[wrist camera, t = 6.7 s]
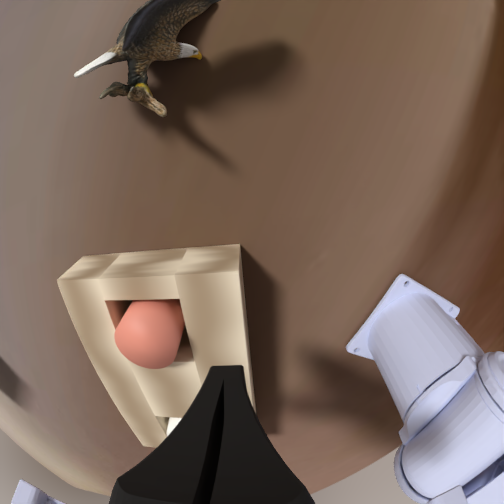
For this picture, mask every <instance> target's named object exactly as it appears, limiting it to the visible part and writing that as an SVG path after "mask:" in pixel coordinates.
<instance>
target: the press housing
mask: <svg viewBox="0 0 504 504" xmlns="http://www.w3.org/2000/svg"><path fill="white" fill-rule="evenodd" d="M57 283H58V286H59V288H60V291H61V294H62V297H63V299H64V302H65V304H66V307H67V309H68V312H69V314H70V317H71V319H72V322H73V324H74V326H75V328H76V331H77V333H78V335H79V337H80V340H81V342H82V344H83V346H84V348H85V350H86V352H87V354H88V356H89V358H90V360H91V362H92V364H93V366H94V368H95V370H96V372H97V374H98V375H99V377H100V379H101V381H102V383H103V384H104V386H105V388H106V390H107V391H108V393H109V395H110V396H111V398H112V400H113V401H114V403H115V405H116V406H117V408H118V409H119V411H120V413H121V414H122V416H123V417H124V419H125V420H126V422H127V423H128V425H129V426H130V428H131V429H132V431H133V432H134V433H135V435H136V436H137V438H138V439H139V440H140V442H141V443H142V445H143V446H148V447H156V448H157V447H158V446H159V445H160V444H161V443H162V442H163V441H164V440H165V438H166V437H167V434H166V432H167V427H168V423H169V418H170V417H173V418H182V417H183V416H184V414H185V413H186V412H187V410H188V409H189V407H190V406H191V404H192V402H193V401H194V399H195V397H196V395H197V394H198V392H199V390H200V388H201V386H202V384H203V382H204V380H205V378H206V376H207V374H208V372H209V369H210V367H211V366H223V365H242V366H243V367H244V373H245V380H246V387H247V392H248V395H249V398H250V401H251V403H252V406H253V409H254V411H255V413H256V404H255V395H254V385H253V375H252V365H251V356H250V345H249V335H248V325H247V315H246V304H245V293H244V283H243V272H242V261H241V249H240V244H234V245H220V246H206V247H192V248H179V249H166V250H153V251H140V252H127V253H115V254H102V255H90V256H83V257H82V258H81V259H80V260H79V261H77V262H76V263H75V264H74V265H73V266H72V267H71V268H70V269H69V270H67V271H66V272H65V273H64V274H63V275H62V276H61V277H60V278H59V279H58V280H57ZM154 299H180V303H181V308H182V312H183V317H184V321H185V325H186V327H184V330H183V333H182V337H181V340H180V344H179V347H178V351H177V355H176V358H175V360H174V361H173V363H172V364H170V365H169V366H167V367H165V368H161V369H148V368H144V367H141V366H138V365H136V364H134V363H133V362H131V361H129V360H128V359H127V358H126V357H125V356H124V355H123V354H122V353H121V352H120V351H119V349H118V347H117V345H116V343H115V339H114V334H115V330H116V328H117V326H118V324H119V323H120V321H121V319H122V318H123V316H124V314H125V313H126V311H127V309H128V308H129V306H130V304H131V303H132V301H133V300H154ZM256 415H257V414H256Z"/></svg>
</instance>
